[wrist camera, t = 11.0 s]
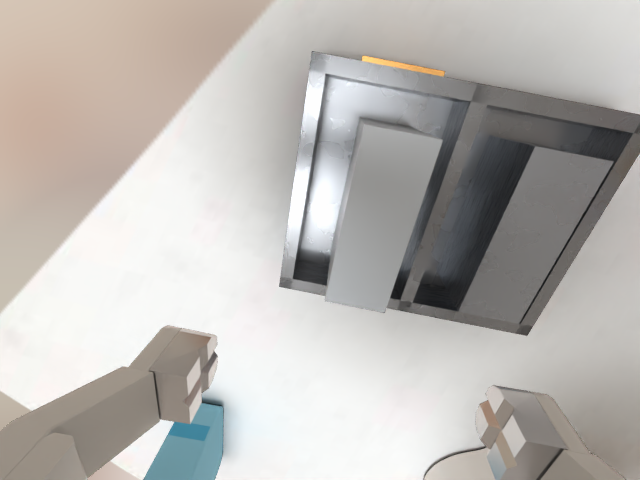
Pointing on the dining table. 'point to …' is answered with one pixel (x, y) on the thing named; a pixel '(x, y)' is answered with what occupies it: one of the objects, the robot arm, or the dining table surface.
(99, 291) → the dining table surface
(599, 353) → the dining table surface
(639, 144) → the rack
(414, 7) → the dining table surface
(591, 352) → the dining table surface
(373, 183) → the light grey block
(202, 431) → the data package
